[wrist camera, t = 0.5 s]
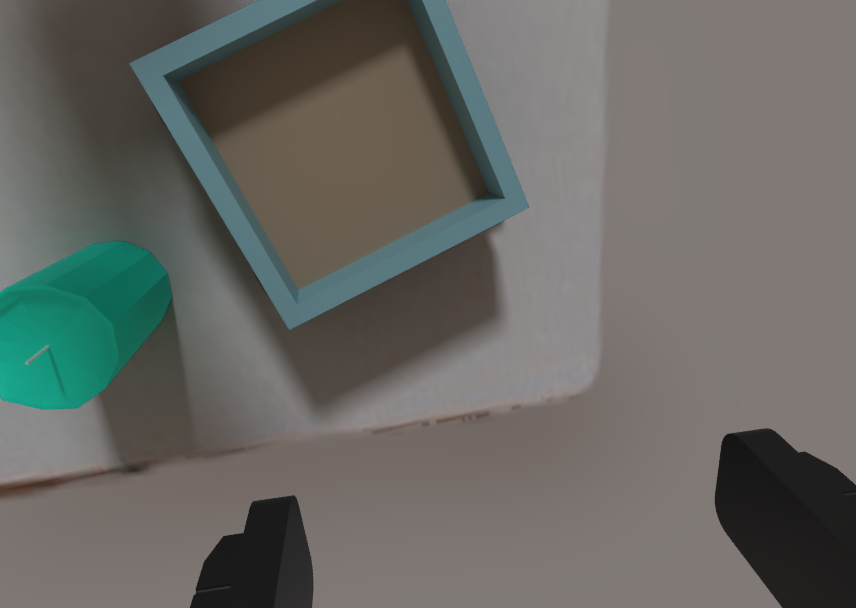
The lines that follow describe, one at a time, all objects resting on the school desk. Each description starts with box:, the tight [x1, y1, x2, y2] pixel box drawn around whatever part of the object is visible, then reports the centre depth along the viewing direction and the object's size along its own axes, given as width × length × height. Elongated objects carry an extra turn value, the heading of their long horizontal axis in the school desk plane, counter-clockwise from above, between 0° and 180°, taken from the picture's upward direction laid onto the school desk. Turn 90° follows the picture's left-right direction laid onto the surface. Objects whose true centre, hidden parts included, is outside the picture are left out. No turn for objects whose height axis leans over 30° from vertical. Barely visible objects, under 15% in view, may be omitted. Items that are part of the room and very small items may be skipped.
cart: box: [129, 0, 529, 330], centre depth 32 cm, size 14×16×7 cm
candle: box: [0, 241, 172, 410], centre depth 30 cm, size 6×6×12 cm
